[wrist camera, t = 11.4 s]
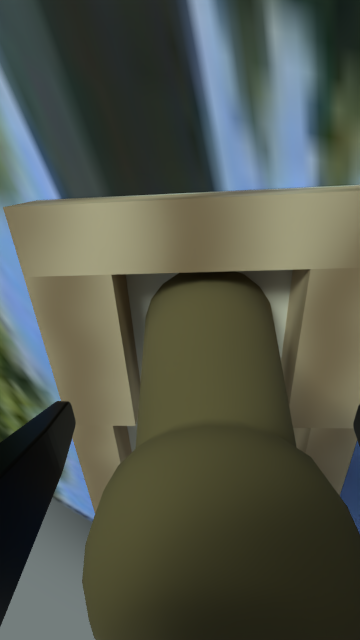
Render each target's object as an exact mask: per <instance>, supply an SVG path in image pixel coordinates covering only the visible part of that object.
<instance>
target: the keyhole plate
mask: <svg viewBox="0 0 360 640" xmlns="http://www.w3.org/2000/svg"><path fill="white" fill-rule="evenodd" d="M3 209H4V212H5V216H6V219H7V222H8V226H9V229H10V232H11V236H12V239H13V242H14V245H15V249H16V252H17V255H18V259H19V262H20V265H21V269H22V272H23V275H24V279H25V282H26V285H27V289H28V292H29V295H30V299H31V302H32V305H33V309H34V312H35V315H36V319H37V322H38V325H39V329H40V332H41V335H42V339H43V342H44V345H45V349H46V352H47V355H48V358H49V362H50V365H51V368H52V372H53V375H54V378H55V382H56V385H57V388H58V392H59V395H60V398H61V401H69V402H70V403H71V405H72V409H73V412H74V416H75V420H76V425H75V430H74V433H73V437H72V438H73V442H74V445H75V448H76V452H77V455H78V458H79V462H80V465H81V468H82V472H83V475H84V478H85V481H86V485H87V488H88V491H89V495H90V498H91V501H92V505H93V508H94V511H95V513H96V510H97V508H98V505H99V502H100V499H101V496H102V494H103V491H104V489H105V487H106V485H107V484H108V482H109V480H110V479H111V477H112V475H113V474H114V472H115V470H116V469H117V467H118V465H119V464H120V463H121V462H122V461H123V460H124V459H125V458H126V457H127V456H129V455H130V454H131V453H132V452H133V451H134V450H135V448H136V435H137V422H138V409H139V396H140V383H141V370H142V357H143V344H144V331H145V318H146V314H147V310H148V307H149V304H150V301H151V299H152V297H153V296H154V295H155V293H156V292H157V291H158V289H159V288H160V287H161V286H162V284H163V283H165V282H166V281H168V280H169V279H171V278H172V277H174V276H175V275H177V274H178V273H188V272H225V271H236V272H239V273H242V274H244V275H246V276H247V277H248V278H249V279H251V280H252V281H253V282H255V283H256V284H257V285H258V286H260V288H261V289H262V291H263V292H264V294H265V296H266V297H267V299H268V300H269V302H270V304H271V310H272V315H273V320H274V325H275V331H276V336H277V342H278V347H279V353H280V358H281V364H282V369H283V375H284V380H285V386H286V392H287V397H288V403H289V408H290V414H291V419H292V425H293V430H294V436H295V441H296V447H297V448H298V449H299V450H301V451H303V452H304V453H306V454H307V455H309V456H310V457H312V459H313V460H314V462H315V463H316V464H317V466H318V467H319V468H320V470H321V471H322V473H323V474H324V475H325V477H326V478H327V479H328V481H329V482H330V483H331V485H332V486H333V488H334V489H335V490H336V492H337V493H338V495H339V496H340V493H341V490H342V487H343V483H344V480H345V477H346V474H347V471H348V468H349V464H350V461H351V458H352V455H353V452H354V449H355V445H356V442H357V437H356V434H355V432H354V428H353V423H354V419H355V415H356V412H357V409H358V406H359V404H360V185H347V186H326V187H305V188H284V189H263V190H242V191H221V192H201V193H180V194H159V195H138V196H117V197H96V198H75V199H55V200H36V201H32V202H27V203H22V204H17V205H12V206H8V207H3Z"/></svg>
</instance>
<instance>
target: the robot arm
mask: <svg viewBox="0 0 360 640" xmlns="http://www.w3.org/2000/svg"><path fill="white" fill-rule="evenodd" d="M75 425H76V420H75V416H74V412H73V409H72V405H71V403H70V402H69V401H57V402H55V403H54V404H52V405H51V406H49V407H48V408H47V409H45V410H44V411H43V412H41V413H40V414H39V415H37V416H36V417H34V418H33V419H32V420H30V421H29V422H28V423H26V424H25V425H24V426H22V427H21V428H19V429H18V430H17V431H15V432H14V433H13V434H11V435H10V436H9V437H7V438H6V439H4V440H3V441H2V442H0V626H1V624H2V621H3V619H4V616H5V614H6V611H7V609H8V606H9V604H10V601H11V599H12V596H13V594H14V591H15V589H16V586H17V584H18V581H19V579H20V576H21V574H22V571H23V569H24V566H25V564H26V562H27V559H28V557H29V554H30V552H31V549H32V547H33V544H34V542H35V539H36V537H37V534H38V532H39V529H40V527H41V524H42V521H43V519H44V517H45V514H46V512H47V509H48V507H49V504H50V502H51V499H52V497H53V494H54V492H55V489H56V487H57V484H58V482H59V479H60V477H61V474H62V471H63V468H64V465H65V461H66V458H67V454H68V451H69V447H70V444H71V440H72V437H73V433H74V430H75ZM353 428H354V432H355V434H356V437H357V440H358V443H359V446H360V404H359V406H358V409H357V412H356V415H355V419H354V423H353Z"/></svg>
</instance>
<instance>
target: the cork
mask: <svg viewBox="0 0 360 640" xmlns="http://www.w3.org/2000/svg"><path fill="white" fill-rule="evenodd" d="M82 583H83V589H84V594H85V600H86V605H87V611H88V617H89V621H90V625H91V628H92V632H93V635H94V638H95V639H96V640H360V534H359V532H358V529H357V527H356V525H355V523H354V521H353V518H352V516H351V514H350V512H349V509H348V507H347V506H346V504H345V503H344V501H343V500H342V499H341V497H340V496H339V495H338V493H337V492H336V490H335V489H334V488H333V486H332V485H331V483H330V482H329V481H328V479H327V478H326V477H325V475H324V474H323V473H322V471H321V470H320V468H319V467H318V466H317V464H316V463H315V462H314V460H313V459H312V457H310V456H309V455H307V454H306V453H304V452H303V451H301V450H299V449H298V448H297V447H296V441H295V436H294V430H293V425H292V419H291V414H290V408H289V403H288V397H287V392H286V386H285V380H284V375H283V369H282V364H281V358H280V353H279V347H278V342H277V336H276V331H275V325H274V320H273V315H272V310H271V304H270V302H269V300H268V299H267V297H266V296H265V294H264V292H263V291H262V289H261V288H260V286H258V285H257V284H256V283H255V282H253V281H252V280H251V279H249V278H248V277H247V276H246V275H244V274H242V273H239V272H236V271H225V272H188V273H178V274H177V275H175V276H174V277H172V278H171V279H169V280H168V281H166V282H165V283H163V284H162V286H161V287H160V288H159V289H158V291H157V292H156V293H155V295H154V296H153V297H152V299H151V301H150V304H149V307H148V310H147V314H146V318H145V331H144V344H143V357H142V370H141V383H140V396H139V409H138V422H137V435H136V448H135V450H134V451H133V452H132V453H131V454H130V455H129V456H127V457H126V458H125V459H124V460H123V461H122V462H121V463H120V464H119V465H118V467H117V469H116V470H115V472H114V474H113V475H112V477H111V479H110V480H109V482H108V484H107V485H106V487H105V489H104V491H103V494H102V496H101V499H100V502H99V505H98V508H97V510H96V513H95V517H94V520H93V523H92V526H91V529H90V532H89V535H88V538H87V542H86V545H85V556H84V568H83V579H82Z"/></svg>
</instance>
